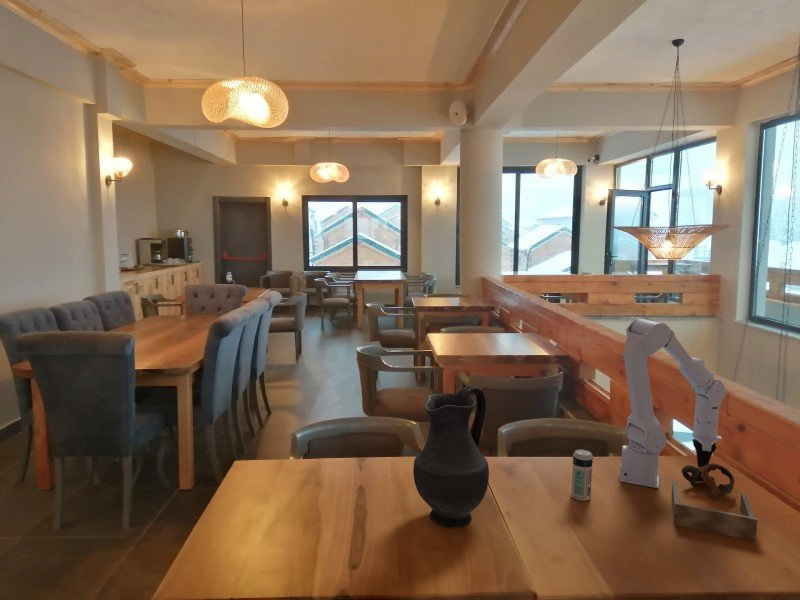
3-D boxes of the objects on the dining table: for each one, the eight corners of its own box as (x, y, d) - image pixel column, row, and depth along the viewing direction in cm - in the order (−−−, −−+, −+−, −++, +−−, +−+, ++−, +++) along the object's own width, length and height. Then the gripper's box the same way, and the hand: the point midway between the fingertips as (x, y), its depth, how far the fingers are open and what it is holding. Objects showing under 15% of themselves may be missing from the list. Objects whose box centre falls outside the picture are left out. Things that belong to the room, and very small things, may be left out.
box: (673, 524, 125) (675, 503, 125) (671, 495, 139) (673, 477, 139) (755, 541, 119) (757, 519, 118) (744, 509, 133) (746, 490, 132)
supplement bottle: (588, 493, 140) (590, 449, 138) (592, 502, 135) (595, 456, 134) (569, 492, 140) (571, 448, 139) (573, 501, 136) (575, 455, 134)
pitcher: (398, 517, 127) (399, 392, 124) (452, 488, 142) (455, 376, 139) (457, 546, 115) (461, 410, 112) (510, 511, 131) (514, 389, 127)
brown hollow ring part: (721, 485, 147) (736, 466, 142) (724, 514, 140) (740, 496, 135) (675, 468, 150) (687, 450, 145) (675, 496, 143) (689, 477, 138)
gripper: (726, 430, 142) (721, 480, 143) (720, 414, 155) (716, 459, 156) (695, 426, 145) (691, 474, 146) (692, 410, 158) (688, 455, 159)
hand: (702, 466), depth 152 cm, fingers closed
